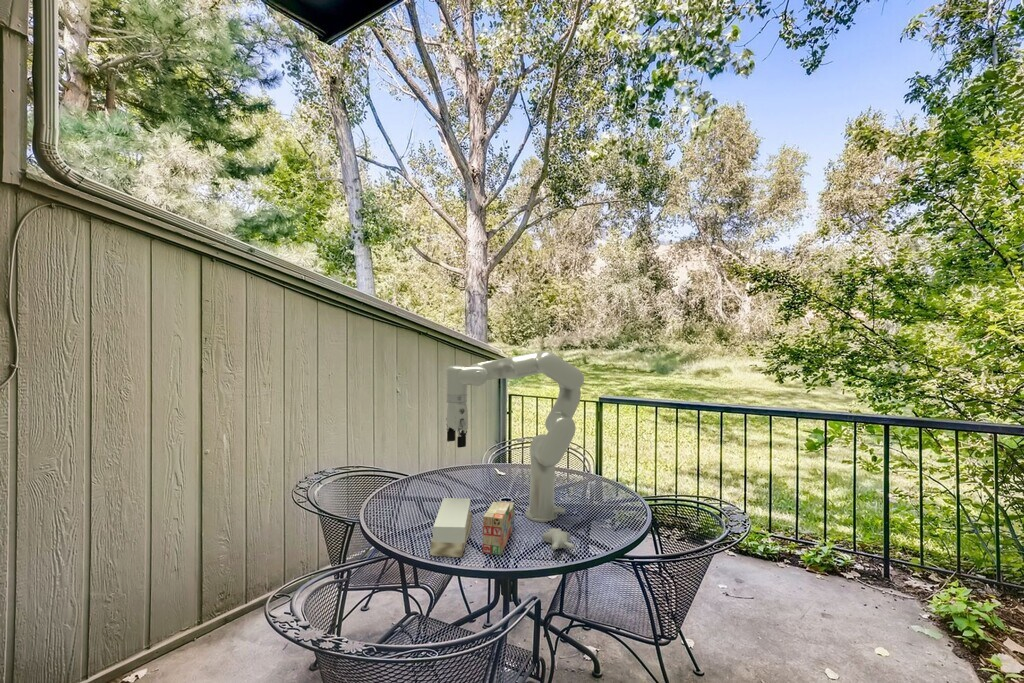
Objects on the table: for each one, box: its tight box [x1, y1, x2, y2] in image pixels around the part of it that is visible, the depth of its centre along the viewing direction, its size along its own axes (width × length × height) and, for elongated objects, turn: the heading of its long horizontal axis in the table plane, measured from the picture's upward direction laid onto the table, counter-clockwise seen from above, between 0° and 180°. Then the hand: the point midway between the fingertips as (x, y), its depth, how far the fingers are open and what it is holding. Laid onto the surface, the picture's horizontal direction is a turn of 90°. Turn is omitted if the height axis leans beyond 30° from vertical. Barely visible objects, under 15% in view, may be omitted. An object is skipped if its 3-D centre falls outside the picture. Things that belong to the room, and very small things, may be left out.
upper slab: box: [432, 497, 472, 543], centre depth 154 cm, size 10×24×5 cm, turn 1°
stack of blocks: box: [481, 500, 516, 556], centre depth 155 cm, size 21×6×12 cm, turn 168°
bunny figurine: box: [542, 528, 576, 551], centre depth 151 cm, size 10×5×15 cm
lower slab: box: [429, 511, 473, 558], centre depth 154 cm, size 10×24×5 cm, turn 177°
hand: (456, 443), depth 169 cm, fingers open, 9 cm apart
